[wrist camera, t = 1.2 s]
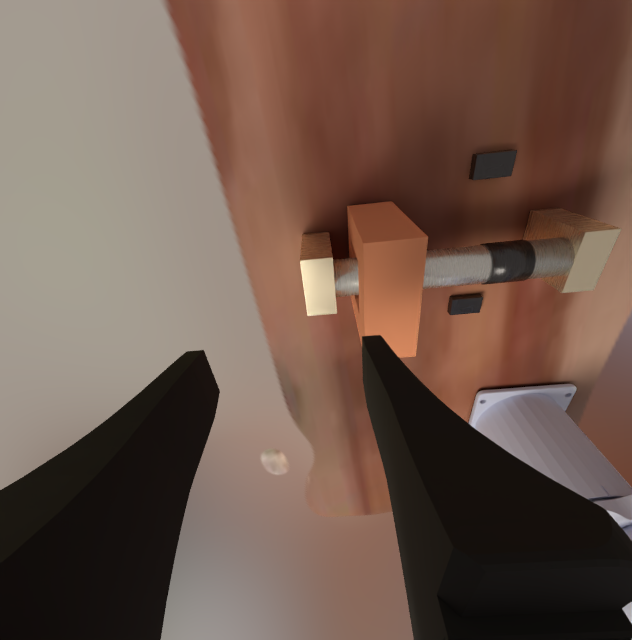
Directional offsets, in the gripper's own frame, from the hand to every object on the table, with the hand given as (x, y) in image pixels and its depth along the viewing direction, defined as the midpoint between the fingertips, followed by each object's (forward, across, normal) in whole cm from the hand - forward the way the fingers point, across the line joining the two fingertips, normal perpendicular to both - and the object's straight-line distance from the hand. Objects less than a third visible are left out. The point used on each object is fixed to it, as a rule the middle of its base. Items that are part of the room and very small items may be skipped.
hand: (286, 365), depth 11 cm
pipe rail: (+10, -8, 0) cm, 13 cm away
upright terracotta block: (+10, -4, 0) cm, 11 cm away
